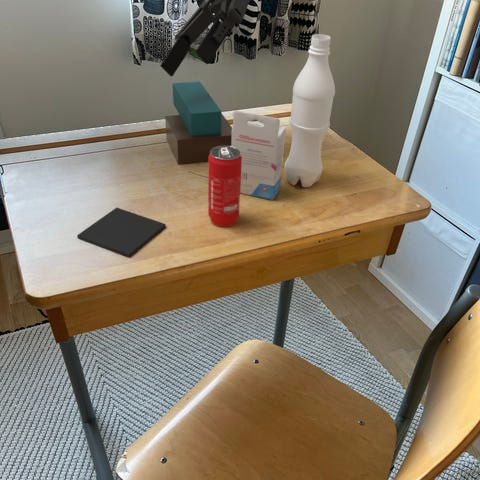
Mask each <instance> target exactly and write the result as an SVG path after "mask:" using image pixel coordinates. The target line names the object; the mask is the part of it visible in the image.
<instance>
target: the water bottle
mask: <svg viewBox="0 0 480 480" xmlns="http://www.w3.org/2000/svg"><path fill="white" fill-rule="evenodd" d="M330 46H331V36H330V35H327V34H322V33H316V34H312V35H311V40H310V45H309V49H308V50H307V52H308V57H307V60H306V62H305V65H304V66H303V68H302V69H301V71H300V72H299V74H298V75H297V77H296V79H295V81H294V84H293V88H292V100H291V102H292V103H291V109H290V117H289V125H290V131H291V145H290V149H289V154H288V156H287V159H286V160H285V162H284V174H285V178H286V180H287V182H288V183H289V184H290V185H292V186H296V185H297V183H298V182H299V181H300V183H301V186H302V188H309V187H311V186H313V184H316V183H317V182H318V181H319V180H320V178H321V176H322V173H323V168H324V167H323V161H322V145H323V141H324V138H325V136H326V134H327V133H328V131H329V129H330V126H331V121H330V120H331V114H332V109H333V103H334V97H335V95H336V85H335V81H334V77H333V74H332V71H331V68H330V63H329V56H330V55H331V51H330V50H331V47H330Z"/></svg>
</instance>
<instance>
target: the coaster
mask: <svg viewBox="0 0 480 480" xmlns="http://www.w3.org/2000/svg"><path fill="white" fill-rule="evenodd" d="M166 227H167V224H166V223H164V222H161V221H158V220H155V219H152V218H150V217H146V216H144V215H140V214H137V213H134V212H131V211H129V210H126V209H122V208H120V207H115V208H114V209H112V210H111V211H110V212H108V213H107V214H105V215H104V216H103V217H101V218H99V219H98V220H97V221H96V222H94V223H93V224H91V225H90V226H88V227H87V228H85V229H84V230H82V231H81V232H80V233H78V234H77V236H76V237H77V239H79V240H81V241H84V242H86V243H90V244H92V245H95V246H97V247H100V248H102V249H106V250H108V251H109V252H110V251H111V252H112V253H113V252H114V253H116V254H119V255H121V256H124V257H126V258H130V257H132V256H133V255H134V254H135V253H136V252H138V251H139V250H140V249H141V248H143V247H144V246H145V245H146V244H147V243H148V242H150V241H151V240H152V239H153V238H155V237H156V236H157V235H158V234H159V233H161V232H162V231H163V230H164V229H166Z"/></svg>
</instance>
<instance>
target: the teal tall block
mask: <svg viewBox="0 0 480 480" xmlns="http://www.w3.org/2000/svg"><path fill="white" fill-rule="evenodd" d="M172 104H173V106H174V108H175V110H176V112H177V113H178V115H180V117H181V119H182V120H183V122H184V124H185V126H186V128H187V129H188V131H189V133H190V135H191V136H202V135H213V134H221V114H223V113H222V110H221V109H220V107H219V106H218V104H217V103H216V101H215V100H214V99H213V97H212V96H211V95H210V93H209V92H208V91H207V89H206V88H205V86H204V85H203V84H202V82H201V81H188V82H187V81H186V82H172Z"/></svg>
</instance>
